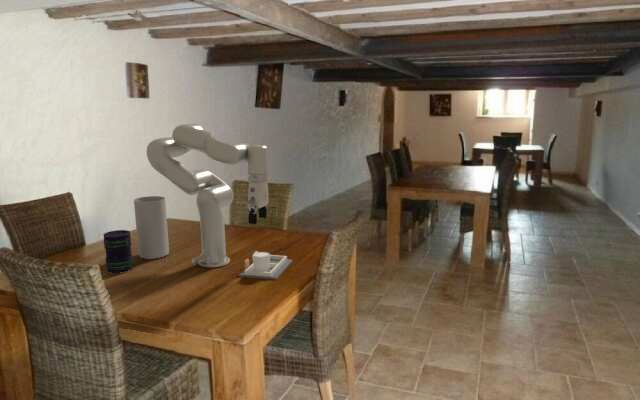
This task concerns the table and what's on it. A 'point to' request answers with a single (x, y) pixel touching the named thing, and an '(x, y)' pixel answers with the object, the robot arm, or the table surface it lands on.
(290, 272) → the table surface
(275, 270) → the well board
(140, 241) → the cylinder vase
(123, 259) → the storage jar
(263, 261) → the shot glass
